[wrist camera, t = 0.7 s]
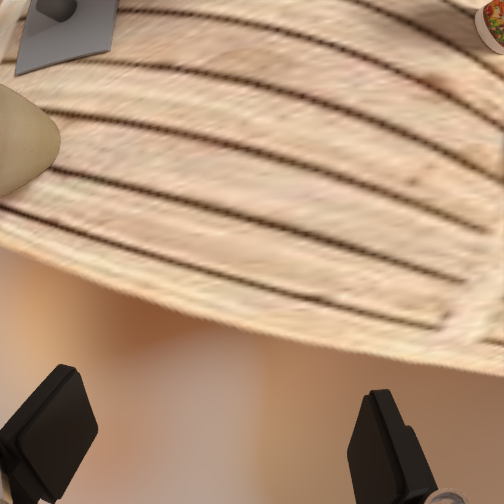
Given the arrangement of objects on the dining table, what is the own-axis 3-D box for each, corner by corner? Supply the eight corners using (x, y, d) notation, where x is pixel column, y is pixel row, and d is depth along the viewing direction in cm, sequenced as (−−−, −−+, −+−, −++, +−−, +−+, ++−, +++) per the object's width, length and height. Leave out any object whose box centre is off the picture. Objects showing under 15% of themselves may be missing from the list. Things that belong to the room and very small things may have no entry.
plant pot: (102, 123, 35) (18, 110, 20) (50, 216, 38) (-32, 245, 23) (39, 75, 33) (-39, 55, 18) (-4, 161, 37) (-81, 170, 21)
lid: (41, -13, 29) (19, -26, 23) (131, -43, 28) (114, -64, 22) (20, 76, 34) (-7, 69, 27) (112, 52, 33) (88, 38, 27)
